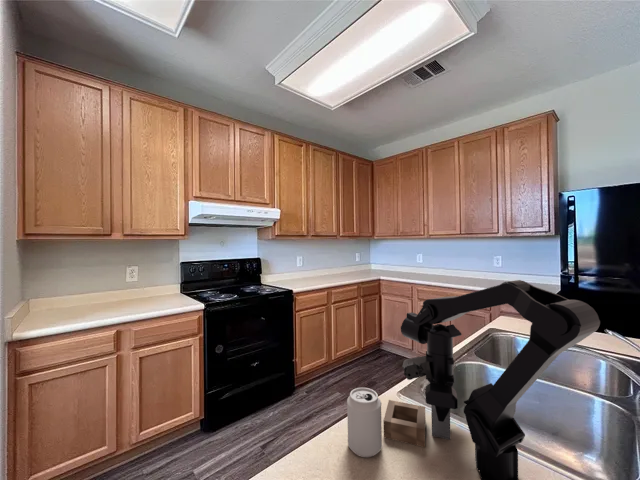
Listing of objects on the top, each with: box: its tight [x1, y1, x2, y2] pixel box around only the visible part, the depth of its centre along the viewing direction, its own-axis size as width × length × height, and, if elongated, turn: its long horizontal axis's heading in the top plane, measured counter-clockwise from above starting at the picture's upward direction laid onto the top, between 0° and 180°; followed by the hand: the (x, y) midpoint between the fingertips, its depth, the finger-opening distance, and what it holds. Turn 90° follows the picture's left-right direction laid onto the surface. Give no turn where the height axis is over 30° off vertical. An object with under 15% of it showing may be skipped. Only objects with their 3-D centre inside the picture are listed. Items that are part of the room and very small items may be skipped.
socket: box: [383, 399, 427, 448], centre depth 69 cm, size 9×9×4 cm
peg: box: [430, 405, 451, 441], centre depth 68 cm, size 4×4×10 cm
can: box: [346, 387, 383, 458], centre depth 63 cm, size 8×8×12 cm
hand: (440, 415), depth 68 cm, fingers closed on peg, 4 cm apart
